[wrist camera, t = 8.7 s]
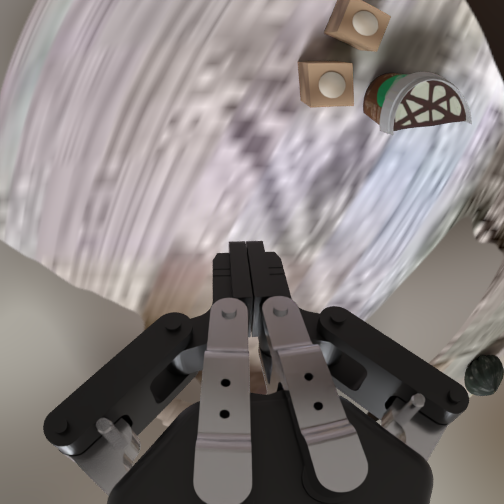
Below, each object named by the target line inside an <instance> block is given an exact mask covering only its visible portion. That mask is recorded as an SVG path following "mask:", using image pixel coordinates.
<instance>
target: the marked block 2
mask: <svg viewBox="0 0 504 504" xmlns="http://www.w3.org/2000/svg"><path fill="white" fill-rule="evenodd" d="M390 18H391V16H389V15H388V14H386V13H384V12H382V11H381V10H379V9H377V8H375V7H373V6H372V5H370V4H368V3H366V2H364V1H362V0H338V1H337V2H336V5H335V7H334V10H333V12H332V15H331V17H330V20H329V22H328V24H327V27H326V29H325V32H324V34H327V35H329V36H331V37H333V38H335V39H338V40H340V41H342V42H344V43H346V44H348V45H350V46H352V47H354V48H357V49H359V50H365V51H376V52H377V50H378V48H379V45H380V43H381V40H382V38H383V35H384V33H385V30H386V28H387V25H388V23H389V20H390Z"/></svg>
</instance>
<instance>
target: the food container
mask: <svg viewBox="0 0 504 504" xmlns="http://www.w3.org/2000/svg"><path fill="white" fill-rule="evenodd" d="M363 111H364V113H365V114H366V115H367V116H369V117H370V118H371V119H372V120H374V121H375V122H376V123H378V124H379V125H380V131H382V132H385V133H387V134H389V133H390V134H392V135H393V131H397V130H401V129H407V128H414V127H425V126H435V125H440V124H445V123H452V122H460V121H465V122H467V123H470V124H472V121H471V114H470V109H469V106H468V104H467V102H466V100H465V98H464V96H463V95H462V94H461V92H460V91H459V90H458V89H457V88H456V87H455V86H454V85H453V84H452V83H451V82H449V81H448V80H446V79H445V78H443V77H442V76H440V75H437V74H435V73H431V72H415V73H412V74H409V75H408V74H399V73H388V74H384V75H381V76H379V77H378V78H376V79H375V80H374V81H373V82H372V83H371V84H370V86H369V87H368V89H367V91H366V94H365V97H364V102H363Z"/></svg>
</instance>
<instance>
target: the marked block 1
mask: <svg viewBox="0 0 504 504" xmlns="http://www.w3.org/2000/svg"><path fill="white" fill-rule="evenodd" d="M298 72H299V84H300V97H301V101H302V102H304V103H305V104H307V105H308V106H309V107H331V106H354V92H353V66H352V63H347V62H341V61H303V62H298Z"/></svg>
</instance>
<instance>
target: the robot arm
mask: <svg viewBox="0 0 504 504" xmlns="http://www.w3.org/2000/svg"><path fill="white" fill-rule="evenodd" d="M251 332H252V337H258V340H259V349H258V352H259V357H260V361H261V366H262V370H263V374H264V379H265V383H266V387H267V395H262V394H255V393H250V375H249V351H248V337H250V336H251ZM200 370H203V374H202V386H201V398H200V401H199V402H197V403H195V404H193V405H191V406H189V407H188V408H186V409H185V410H184V411H183V412H181V413H180V414H179V415H178V417H177V418H176V419H175V420H174V421H173V422H172V423H171V425H170V426H169V427H168V428H167V429H166V430H165V431H164V432H163V434H162V435H161V436H160V437H159V438H158V439H157V440H156V441H155V443H154V444H153V445H152V446H151V447H150V448H149V449H148V450H147V451H146V453H145V454H144V455H143V456H142V457H141V458H140V459H139V460H138V462H136V463H135V465H134V466H133V467H132V465H133V461H134V459H135V458H136V456H137V455H138V453H139V450H140V441H139V438H138V437H137V436H138V434H140V433H141V432H142V431H143V429H145V428H146V427H147V426H148V425H149V424H150V422H152V420H153V419H154V418H156V417H157V415H158V414H159V413H160V412H161V411H162V410H163V409H164V408H165V407H166V406H167V405H168V404H169V403H170V402H171V401H172V400H173V399H174V398H175V397H176V396H177V395H178V394H179V393H180V392H181V391H182V390H183V389H184V388H185V387H186V385H187V384H188V383H189V382H190V381H191V380H192V379H193V378H194V377H195V376H196V375H197V373H198V371H200ZM336 388H337V389H339V390H340V391H342V392H343V393H344V394H346V395H347V396H349V397H350V398H351V399H353V400H354V401H355V402H357V403H358V404H359V405H361V406H362V407H363V408H365V409H366V410H368V411H369V412H370V413H372V414H373V415H375V416H376V417H378V418H379V419H380V420H381V425H380V424H378V423H377V422H376V421H374V420H373V419H372V418H370V417H369V416H368V415H366V414H365V413H364V412H363V411H361V410H360V409H359V408H357V407H356V406H355V405H354V404H352V403H351V402H349V401H348V400H347V399H345V398H343V397H342V396H339V395H338V393H337V390H336ZM468 403H469V396H468V393H467V391H466V390H465V388H464V387H463V386H462V385H461V384H459V383H458V382H456V381H455V380H453V379H451V378H450V377H448V376H447V375H445V374H444V373H442V372H441V371H439V370H438V369H436V368H435V367H433V366H432V365H430V364H429V363H427V362H426V361H424V360H423V359H421V358H419V357H418V356H416V355H415V354H413V353H412V352H410V351H408V350H407V349H406V348H404V347H403V346H401V345H400V344H398V343H397V342H395V341H394V340H392V339H390V338H389V337H387V336H386V335H384V334H383V333H381V332H380V331H378V330H377V329H375V328H374V327H372V326H371V325H369V324H367V323H366V322H364V321H363V320H361V319H360V318H358V317H357V316H355V315H354V314H352V313H351V312H349V311H348V310H346V309H344V308H341V307H337V306H332V307H327V308H325V309H324V310H323V311H322V312H321V313H320V314H318V313H313V312H308V311H305V310H302V309H300V308H299V307H298V305H297V304H296V303H295V302H294V301H293V300H292V299H291V295H290V291H289V287H288V284H287V280H286V276H285V272H284V269H283V265H282V261H281V258H280V257H279V256H278V255H277V254H276V253H275V252H265V250H264V245H263V241H246V244H245V241H240V242H229V253H217V255H216V256H215V258H214V259H213V304H212V306H211V308H210V309H209V311H207V312H206V313H205V314H203V315H201V316H198V317H195V318H191V319H190V318H189V317H188V316H186V315H184V314H182V313H177V312H173V313H168V314H165V315H163V316H161V317H160V318H159V319H158V320H156V321H155V322H154V323H153V324H152V325H151V326H149V327H148V328H147V329H146V330H145V331H144V332H142V333H141V334H140V335H139V336H138V337H137V338H136V339H134V340H133V341H132V342H131V343H130V344H129V345H127V346H126V347H125V348H124V349H123V350H122V351H121V352H119V353H118V354H117V355H116V356H115V357H113V358H112V359H111V360H110V361H109V362H108V363H107V364H105V365H104V366H103V367H102V368H101V369H100V370H99V371H97V372H96V373H95V374H94V375H93V376H92V377H90V378H89V379H88V380H87V381H86V382H85V383H84V384H82V385H81V386H80V387H79V388H78V389H77V390H76V391H74V392H73V393H72V394H71V395H70V396H69V397H68V398H66V399H65V400H64V401H63V402H62V403H61V404H60V405H58V406H57V407H56V408H55V409H54V410H53V411H52V412H50V413H49V414H48V416H47V417H46V419H45V421H44V426H43V430H44V434H45V436H46V438H47V439H48V441H49V442H50V443H52V444H53V445H54V446H55V447H57V448H58V449H59V451H60V452H62V453H63V454H64V455H65V456H67V457H68V458H70V459H71V460H72V461H74V462H75V463H77V464H78V466H79V467H80V468H81V469H82V470H83V471H84V472H85V473H86V474H87V475H88V476H89V477H90V478H91V479H92V480H93V481H94V482H95V483H96V484H97V485H98V486H99V487H100V488H101V489H102V490H103V491H104V492H105V493H106V494H107V495H108V496H109V497H108V501H107V504H429V503H430V497H431V493H432V488H433V474H432V470H431V468H430V466H429V464H428V462H427V460H428V458H429V457H430V455H431V454H432V452H433V450H434V448H435V447H436V445H437V443H438V442H439V440H440V438H441V436H442V434H443V432H444V430H445V429H446V427H447V426H448V425H449V424H450V423H451V422H453V421H454V420H455V419H456V418H457V417H458V416H459V415H460V414H461V413H463V412H464V411H465V410H466V408H467V406H468Z"/></svg>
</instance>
